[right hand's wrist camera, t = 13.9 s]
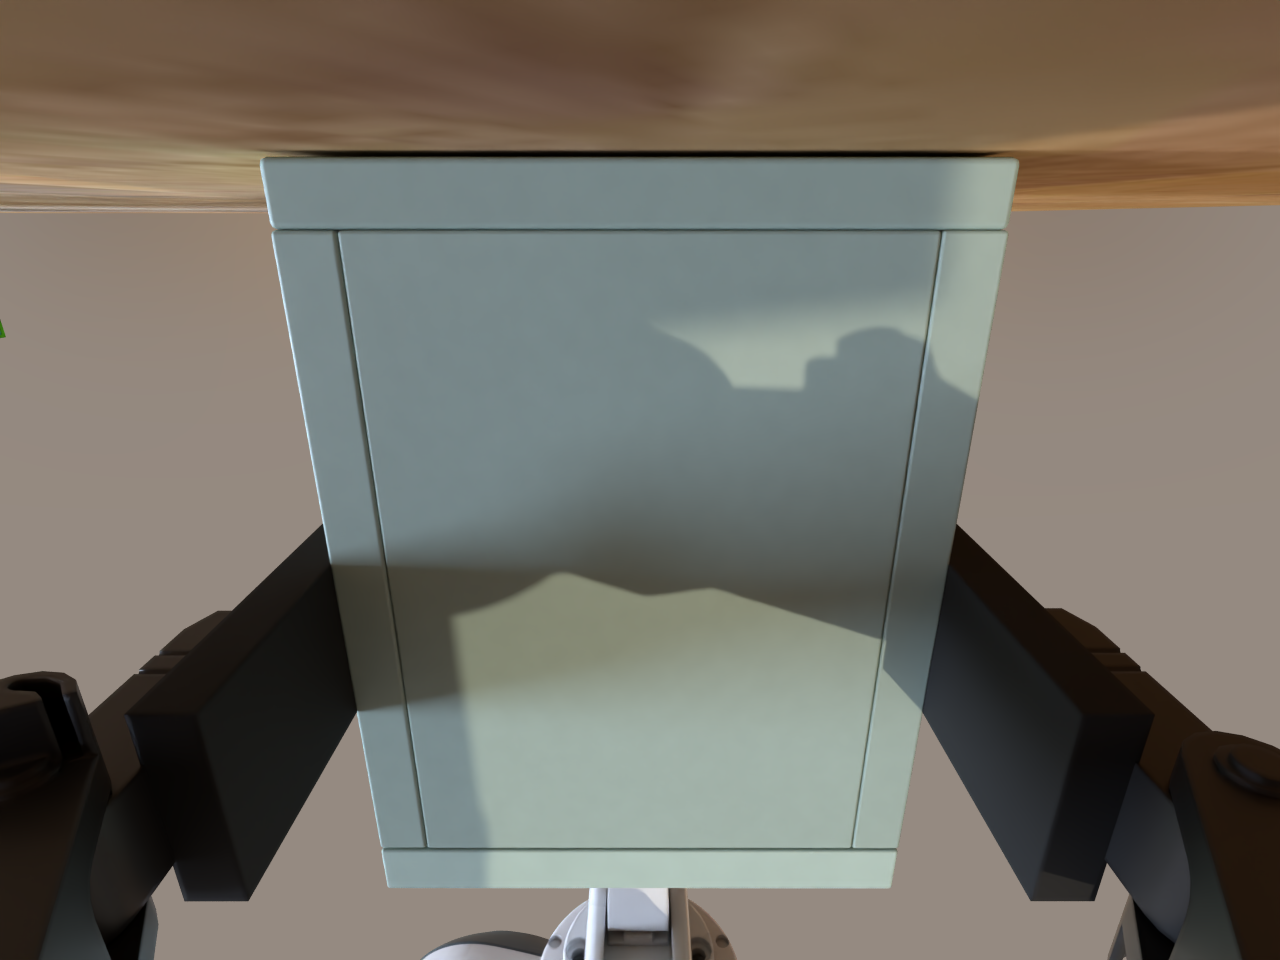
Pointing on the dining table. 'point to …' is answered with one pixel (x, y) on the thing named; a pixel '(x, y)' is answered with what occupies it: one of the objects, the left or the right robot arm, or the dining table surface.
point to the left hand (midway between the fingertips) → (638, 749)
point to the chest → (639, 480)
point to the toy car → (1, 331)
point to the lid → (639, 867)
